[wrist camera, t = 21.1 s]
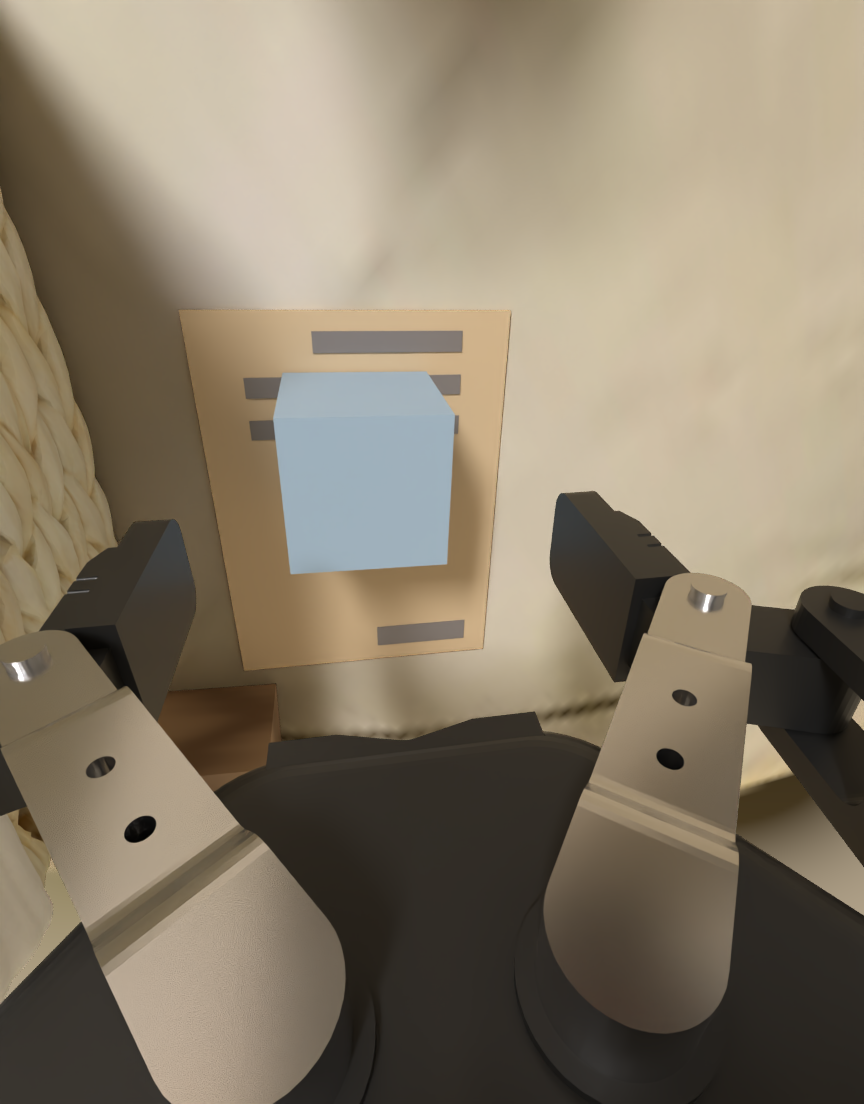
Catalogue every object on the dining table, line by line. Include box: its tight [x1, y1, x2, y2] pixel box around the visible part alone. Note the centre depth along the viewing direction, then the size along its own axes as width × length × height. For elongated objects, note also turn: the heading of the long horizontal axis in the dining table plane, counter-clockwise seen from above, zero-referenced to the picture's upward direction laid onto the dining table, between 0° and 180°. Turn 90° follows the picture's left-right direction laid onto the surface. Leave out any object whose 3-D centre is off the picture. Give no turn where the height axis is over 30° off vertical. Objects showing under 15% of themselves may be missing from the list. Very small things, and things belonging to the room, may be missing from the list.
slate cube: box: [273, 371, 455, 574], centre depth 19 cm, size 5×5×5 cm
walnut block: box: [157, 684, 282, 792], centre depth 26 cm, size 5×7×5 cm
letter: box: [179, 310, 511, 671], centre depth 23 cm, size 11×15×1 cm
